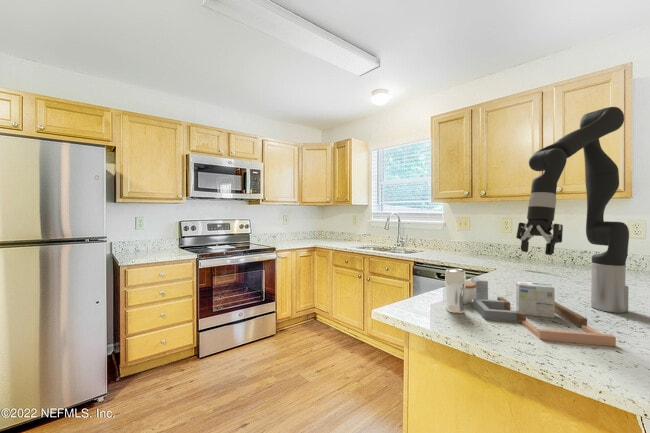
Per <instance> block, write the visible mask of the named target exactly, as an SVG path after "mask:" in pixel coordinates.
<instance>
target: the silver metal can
mask: <svg viewBox="0 0 650 433" xmlns="http://www.w3.org/2000/svg"><path fill="white" fill-rule="evenodd" d="M466 281H467V280H466V270H465V269H462V268H461V269H460V268H446V269H445V274H444V288H445V293H446V298H447V299H446V300H447V301H446V302H447V303H446V306H445V310H446V311H447V312H449V313H452V314H463V313H465V308H464V304H463V298H464V293H465V287H466Z"/></svg>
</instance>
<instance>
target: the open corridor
mask: <svg viewBox="0 0 650 433" xmlns="http://www.w3.org/2000/svg"><path fill="white" fill-rule="evenodd" d="M496 298H497V299H496V300H500V301H503V302H504V310H510V311H511V302H510V301H509V300H507V299H506V298H504V297H503V296H497V297H496ZM515 311H516V312H517V313H518V322H517V323H519V324H522V321H527V315H526V314H525V313H523V312H522V311H517V310H515ZM555 314H556V315H558V316H559V317H561V318H562V319H563V320H566V321H568V323H570V324H572V325H574V326H576V327H577V328H579V329H582V325H585V326H588V318H586V317H584V316H582V315H581V314H579V313H577V312H576V311H573V310H572V309H569V308H568V307H565V306H564V305H562V304H560V303H558V302H556V301H555Z"/></svg>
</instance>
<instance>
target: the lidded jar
mask: <svg viewBox="0 0 650 433" xmlns="http://www.w3.org/2000/svg"><path fill="white" fill-rule="evenodd" d="M475 293H476V283H474V282H471V280H470V281H469V280H466V287H465V293H464V298H463V305H465V304H470V303H471V302H473V299H474V297H475Z"/></svg>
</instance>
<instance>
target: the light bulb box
mask: <svg viewBox="0 0 650 433" xmlns="http://www.w3.org/2000/svg"><path fill="white" fill-rule="evenodd" d="M515 288H516V289H515V290H516V291H515V292H516V293H515V294H516V297H515V298H516V300H515V301H516V302H515V303H516V308H515V309H516V311H522V312H523V313H525V314H526V316H528V315H529V316H534V317H535V316H536V317H541V318H551V319H555V317H556V316H555V314H556V313H555V302H556V301H555V299H556V298H555V296H556V294H555V293H556V292H555V286H553V285H552V284H550V283H546V282H545V283H543V282H532V281H531V282H530V281H529V282H528V281H519V280H516V282H515Z"/></svg>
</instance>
